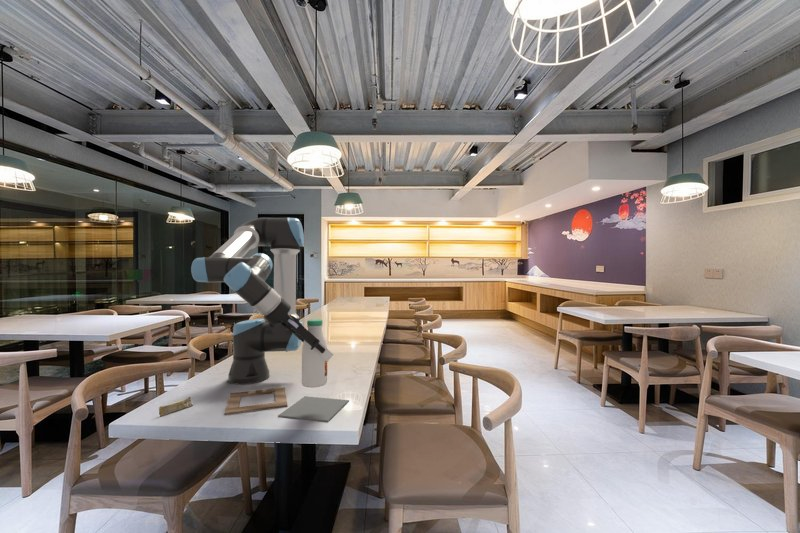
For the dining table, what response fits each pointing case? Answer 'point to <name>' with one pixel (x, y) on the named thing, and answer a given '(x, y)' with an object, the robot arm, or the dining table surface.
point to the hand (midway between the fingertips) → (325, 355)
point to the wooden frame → (279, 402)
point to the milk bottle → (314, 358)
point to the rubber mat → (314, 409)
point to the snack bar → (175, 406)
